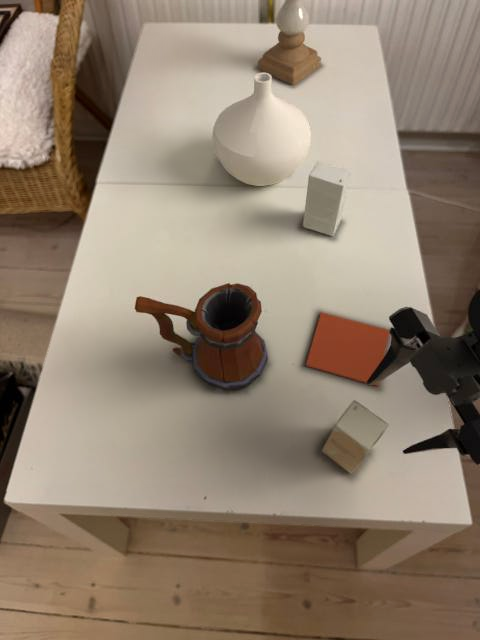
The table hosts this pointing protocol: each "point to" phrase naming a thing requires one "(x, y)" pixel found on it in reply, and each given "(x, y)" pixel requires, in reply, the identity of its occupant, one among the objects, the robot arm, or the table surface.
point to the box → (354, 436)
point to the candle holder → (290, 46)
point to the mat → (347, 348)
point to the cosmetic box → (325, 197)
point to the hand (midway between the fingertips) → (385, 416)
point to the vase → (261, 136)
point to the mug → (217, 334)
